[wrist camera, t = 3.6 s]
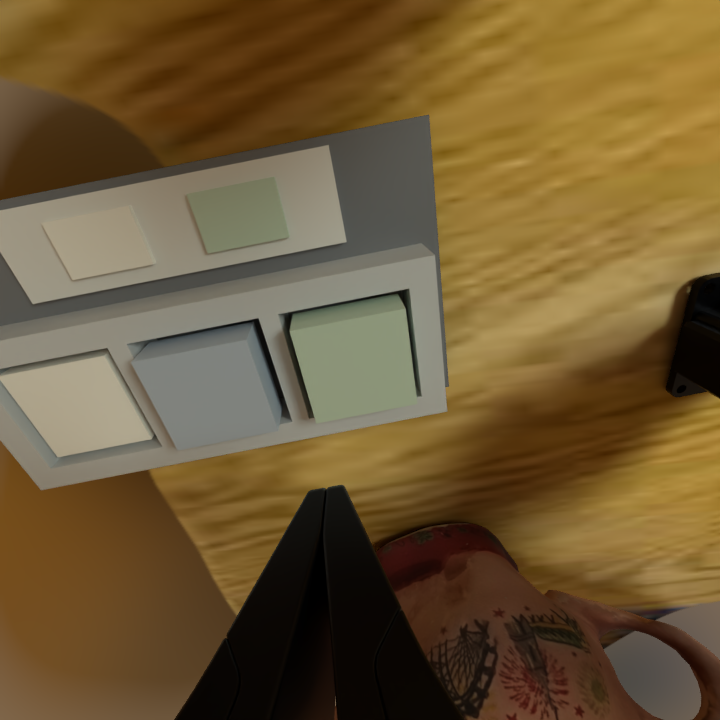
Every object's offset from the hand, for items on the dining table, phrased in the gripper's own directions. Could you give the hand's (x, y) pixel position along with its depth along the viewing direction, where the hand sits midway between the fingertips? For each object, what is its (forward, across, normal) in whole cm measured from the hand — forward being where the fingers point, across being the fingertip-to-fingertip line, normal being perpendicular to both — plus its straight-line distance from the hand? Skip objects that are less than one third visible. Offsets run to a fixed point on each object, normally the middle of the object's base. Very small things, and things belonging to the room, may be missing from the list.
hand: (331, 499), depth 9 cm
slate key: (+7, +5, 0) cm, 8 cm away
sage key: (+7, -1, 0) cm, 7 cm away
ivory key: (+8, +10, 0) cm, 13 cm away
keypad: (+9, +5, -2) cm, 11 cm away
